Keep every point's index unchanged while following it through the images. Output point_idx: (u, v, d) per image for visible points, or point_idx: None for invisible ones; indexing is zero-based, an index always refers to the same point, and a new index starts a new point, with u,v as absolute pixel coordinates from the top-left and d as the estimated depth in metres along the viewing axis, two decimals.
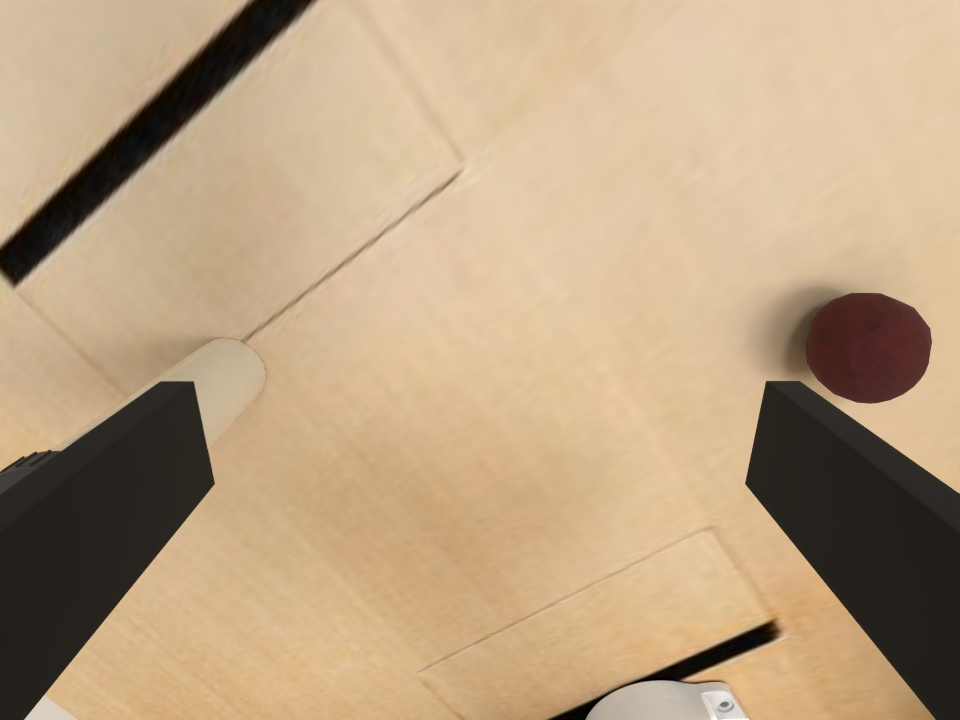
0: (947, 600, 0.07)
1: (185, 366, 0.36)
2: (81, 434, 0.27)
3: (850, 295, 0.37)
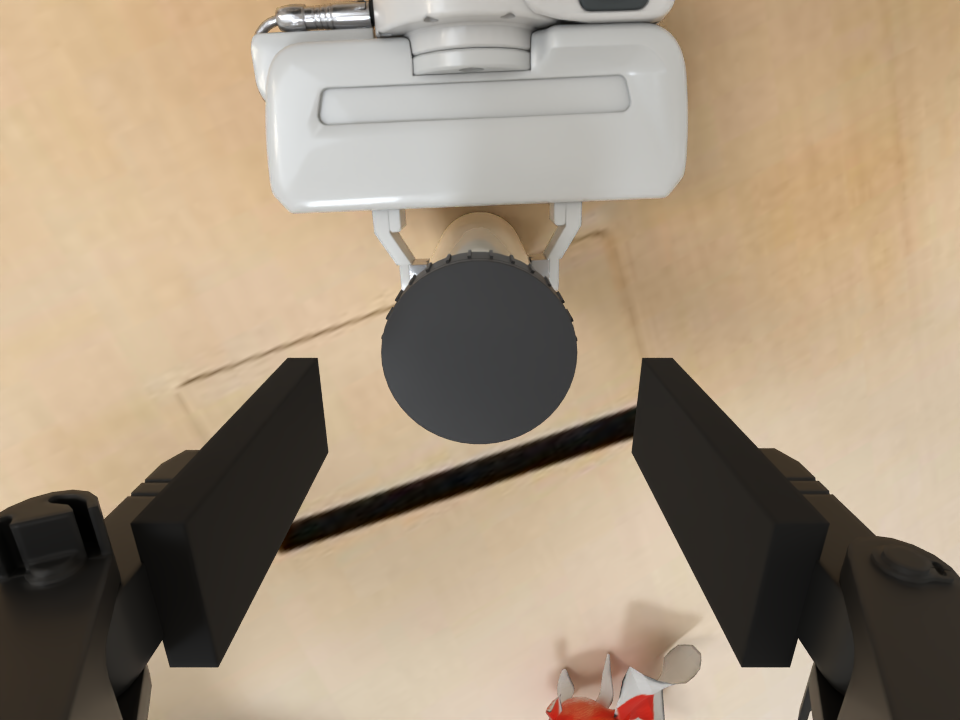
0: (729, 530, 0.09)
1: None
2: None
3: None
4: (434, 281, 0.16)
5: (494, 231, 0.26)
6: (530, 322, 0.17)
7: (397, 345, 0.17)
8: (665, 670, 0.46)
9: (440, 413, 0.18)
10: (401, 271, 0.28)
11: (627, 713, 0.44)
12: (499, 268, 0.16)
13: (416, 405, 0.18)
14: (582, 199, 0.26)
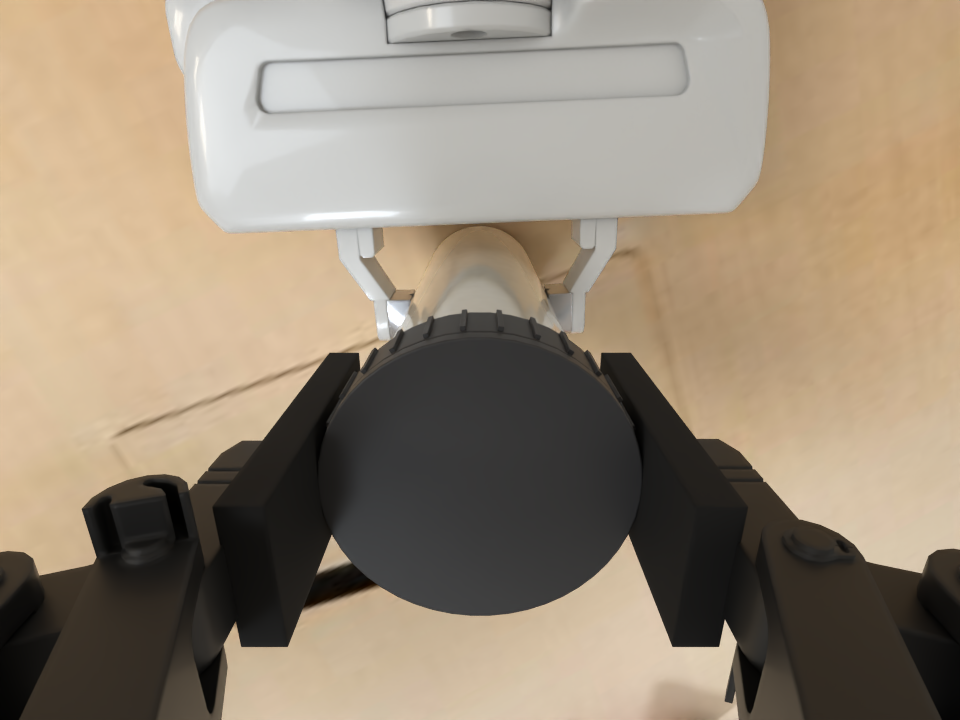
0: (663, 515, 0.09)
1: None
2: None
3: None
4: (403, 371, 0.10)
5: (500, 258, 0.19)
6: (566, 437, 0.10)
7: (343, 472, 0.10)
8: None
9: (417, 572, 0.11)
10: (376, 308, 0.21)
11: None
12: (515, 350, 0.09)
13: (377, 561, 0.11)
14: (619, 215, 0.19)
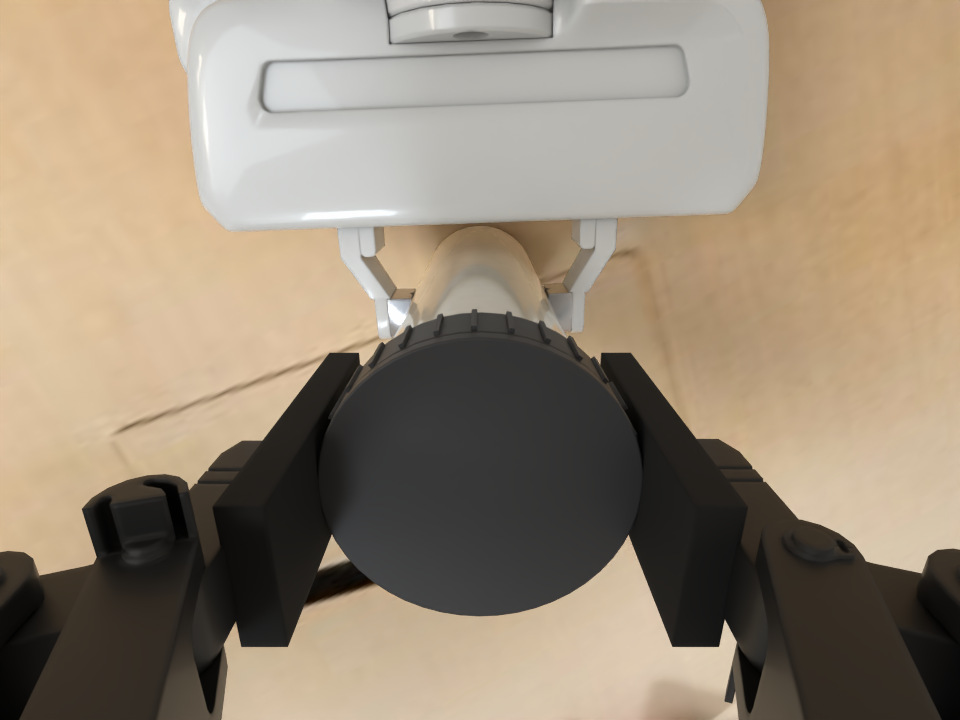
0: (663, 515, 0.09)
1: None
2: None
3: None
4: (386, 577, 0.11)
5: (500, 258, 0.19)
6: (391, 440, 0.10)
7: (499, 597, 0.11)
8: None
9: (595, 519, 0.11)
10: (377, 307, 0.22)
11: None
12: (329, 506, 0.11)
13: (590, 553, 0.11)
14: (619, 215, 0.20)
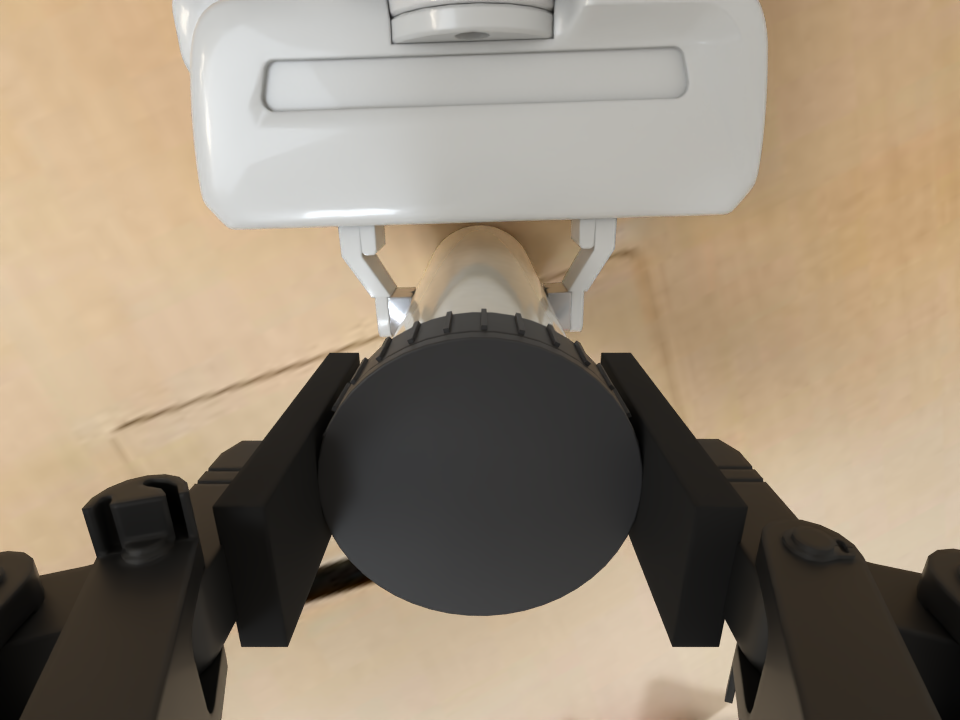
0: (663, 515, 0.09)
1: None
2: None
3: None
4: (608, 542, 0.11)
5: (500, 257, 0.19)
6: (452, 571, 0.11)
7: (606, 437, 0.10)
8: None
9: (473, 380, 0.10)
10: (377, 305, 0.22)
11: None
12: (538, 601, 0.11)
13: (518, 368, 0.10)
14: (618, 215, 0.20)
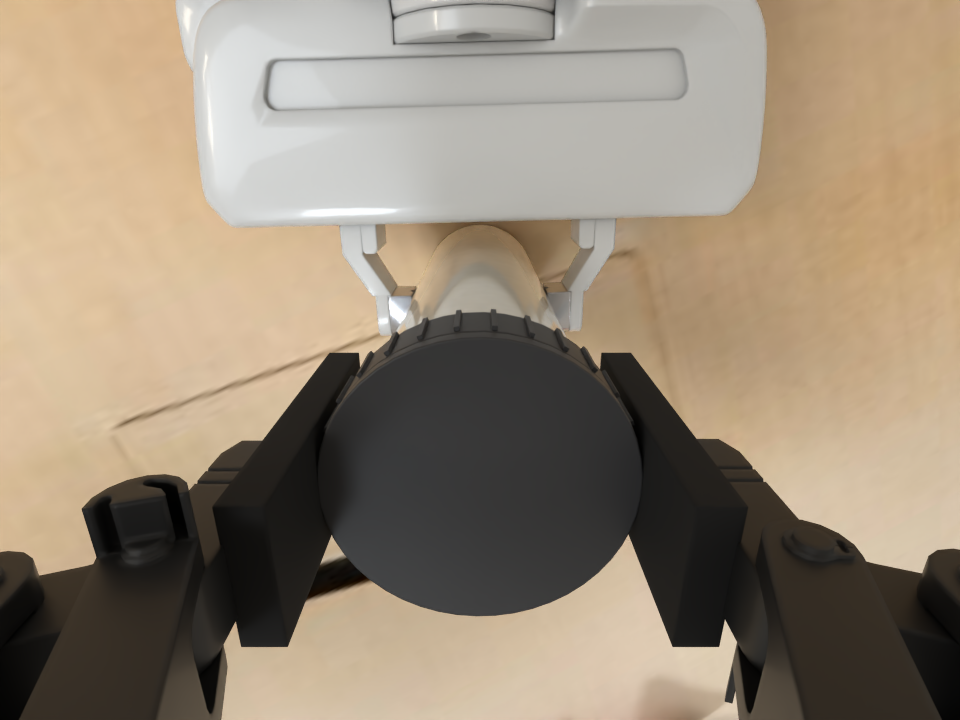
0: (663, 515, 0.09)
1: None
2: None
3: None
4: (499, 354, 0.09)
5: (500, 256, 0.20)
6: (584, 489, 0.10)
7: (376, 404, 0.10)
8: None
9: (369, 528, 0.11)
10: (378, 304, 0.22)
11: None
12: (601, 397, 0.10)
13: (342, 499, 0.10)
14: (617, 215, 0.20)
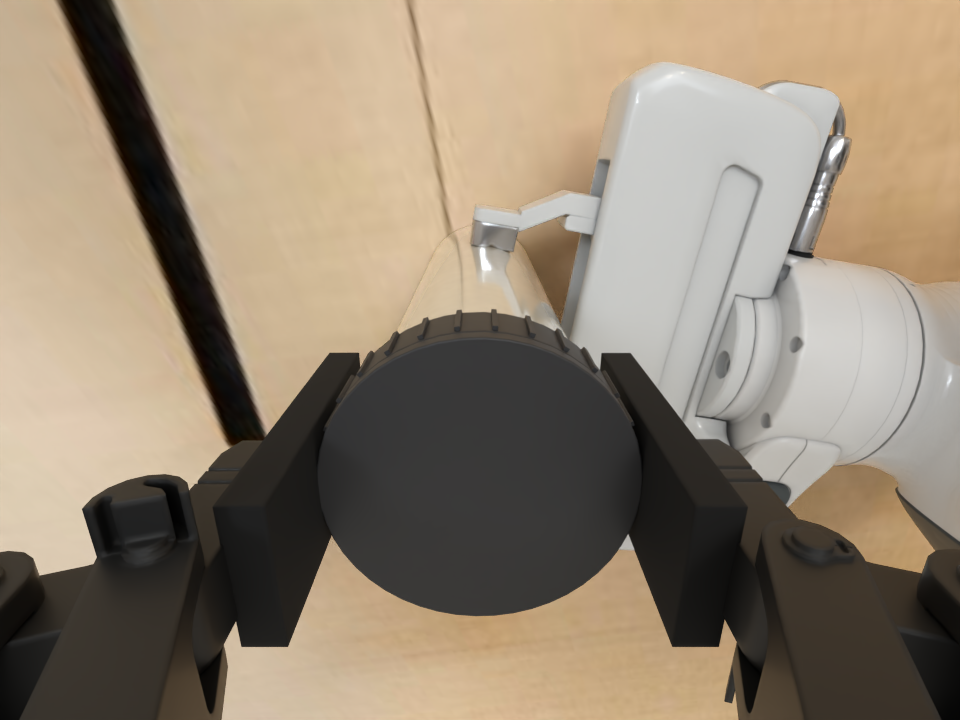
0: (663, 515, 0.09)
1: None
2: None
3: None
4: (499, 354, 0.09)
5: None
6: (583, 490, 0.10)
7: (376, 404, 0.10)
8: None
9: (369, 528, 0.11)
10: (512, 215, 0.21)
11: None
12: (601, 397, 0.10)
13: (342, 498, 0.10)
14: None
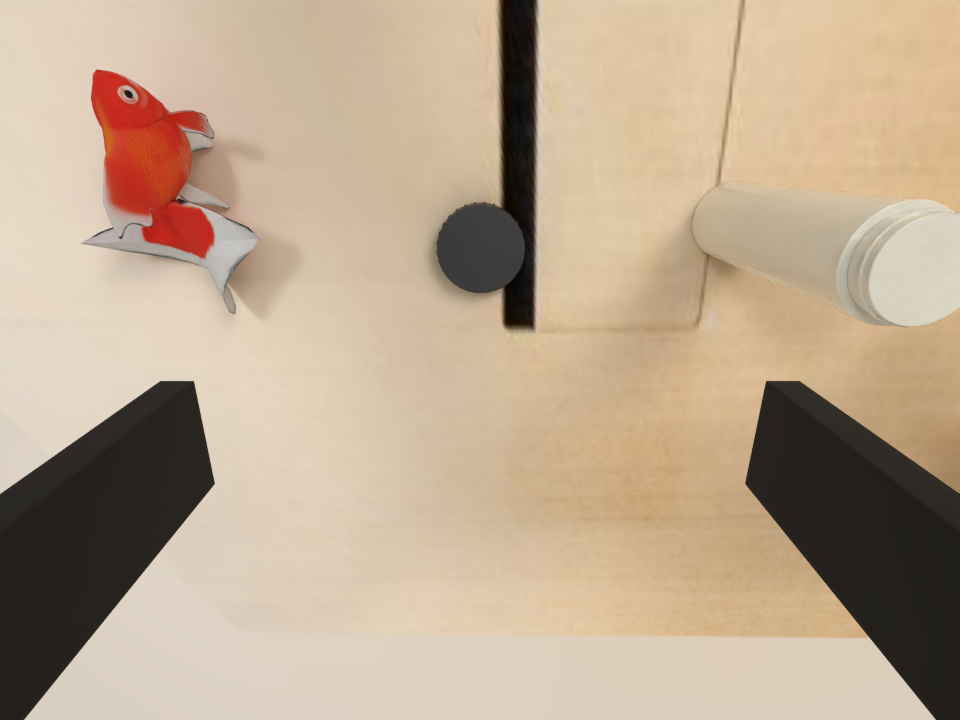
0: (948, 600, 0.07)
1: (738, 205, 0.34)
2: (822, 231, 0.25)
3: None
4: (485, 209, 0.38)
5: None
6: (508, 249, 0.39)
7: (454, 223, 0.38)
8: None
9: (450, 262, 0.39)
10: None
11: (175, 215, 0.35)
12: (511, 221, 0.38)
13: (443, 252, 0.39)
14: None
